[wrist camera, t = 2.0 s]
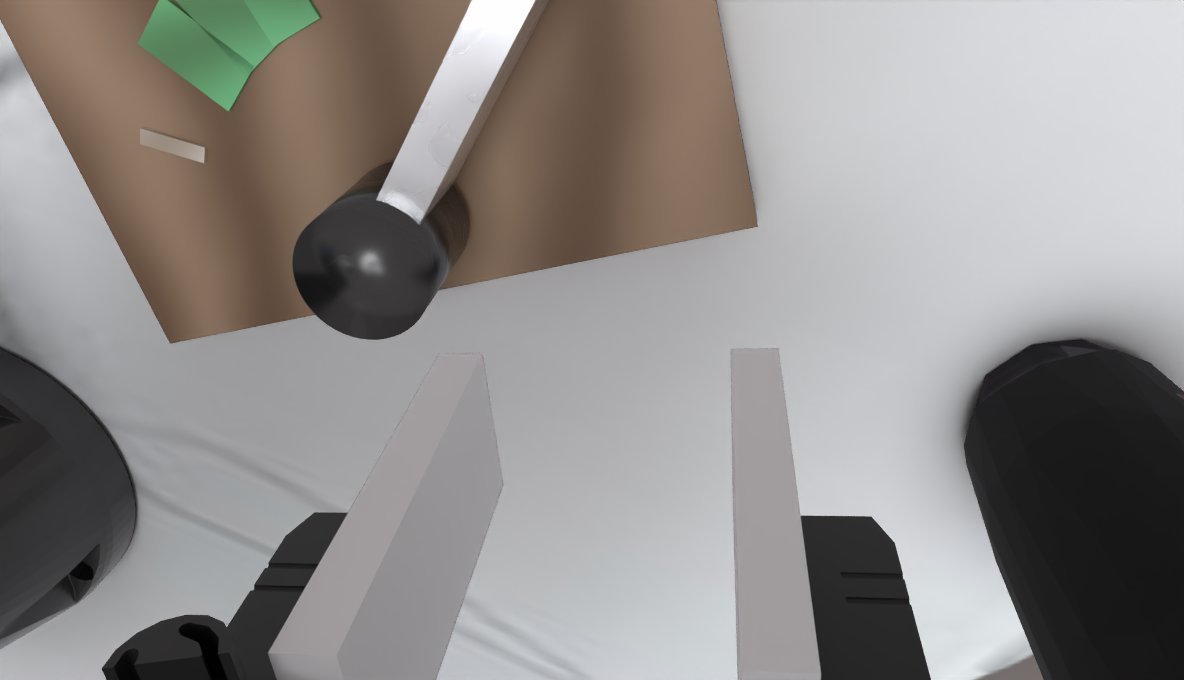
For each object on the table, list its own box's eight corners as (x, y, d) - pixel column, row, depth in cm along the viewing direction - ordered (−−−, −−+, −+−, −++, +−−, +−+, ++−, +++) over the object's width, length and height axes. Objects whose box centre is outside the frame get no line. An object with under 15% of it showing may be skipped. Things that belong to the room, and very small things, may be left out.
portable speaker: (1102, 277, 32) (1532, 725, 15) (1223, 445, 34) (1707, 988, 18) (900, 400, 35) (1071, 881, 18) (1023, 545, 38) (1273, 1084, 21)
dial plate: (189, 327, 38) (167, 345, 36) (14, -17, 32) (-21, -11, 30) (755, 212, 32) (757, 228, 31) (673, -227, 26) (670, -233, 25)
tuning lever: (437, 297, 33) (395, 363, 29) (332, 237, 33) (272, 295, 28) (610, -14, 28) (590, 8, 23) (485, -94, 27) (440, -86, 23)
